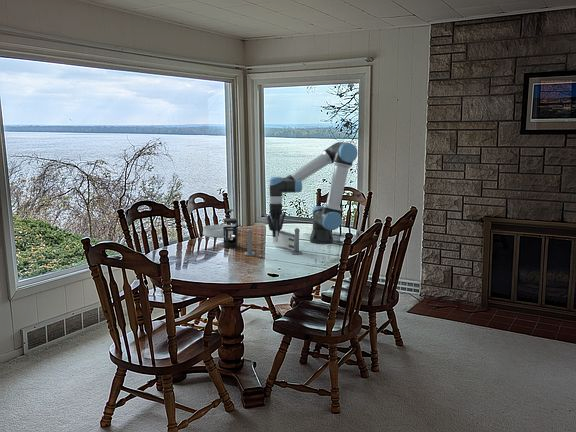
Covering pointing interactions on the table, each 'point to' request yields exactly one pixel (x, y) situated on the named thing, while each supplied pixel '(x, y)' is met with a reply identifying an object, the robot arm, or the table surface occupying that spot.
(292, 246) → the grey long flat block
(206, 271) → the table surface
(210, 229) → the dish
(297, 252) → the posts
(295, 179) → the robot arm
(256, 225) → the table surface
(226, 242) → the french press
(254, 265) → the table surface
